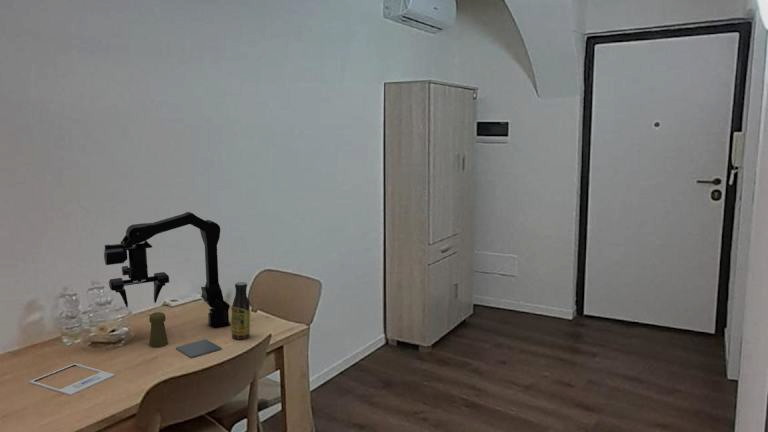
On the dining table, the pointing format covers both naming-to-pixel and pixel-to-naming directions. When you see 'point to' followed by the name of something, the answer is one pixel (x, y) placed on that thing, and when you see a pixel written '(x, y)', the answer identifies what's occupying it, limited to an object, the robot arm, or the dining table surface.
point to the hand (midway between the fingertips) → (141, 304)
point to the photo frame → (78, 385)
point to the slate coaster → (198, 348)
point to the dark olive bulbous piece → (158, 330)
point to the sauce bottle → (240, 312)
